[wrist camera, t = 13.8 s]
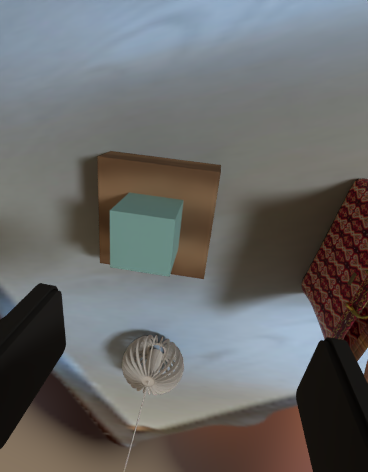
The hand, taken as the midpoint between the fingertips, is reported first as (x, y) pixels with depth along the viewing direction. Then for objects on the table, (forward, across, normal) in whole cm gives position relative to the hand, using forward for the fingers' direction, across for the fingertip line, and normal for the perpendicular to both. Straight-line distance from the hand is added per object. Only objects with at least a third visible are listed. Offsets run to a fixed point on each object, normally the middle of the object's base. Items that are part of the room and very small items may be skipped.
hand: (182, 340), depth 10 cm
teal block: (+21, +6, +5) cm, 23 cm away
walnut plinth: (+25, +6, +6) cm, 27 cm away
